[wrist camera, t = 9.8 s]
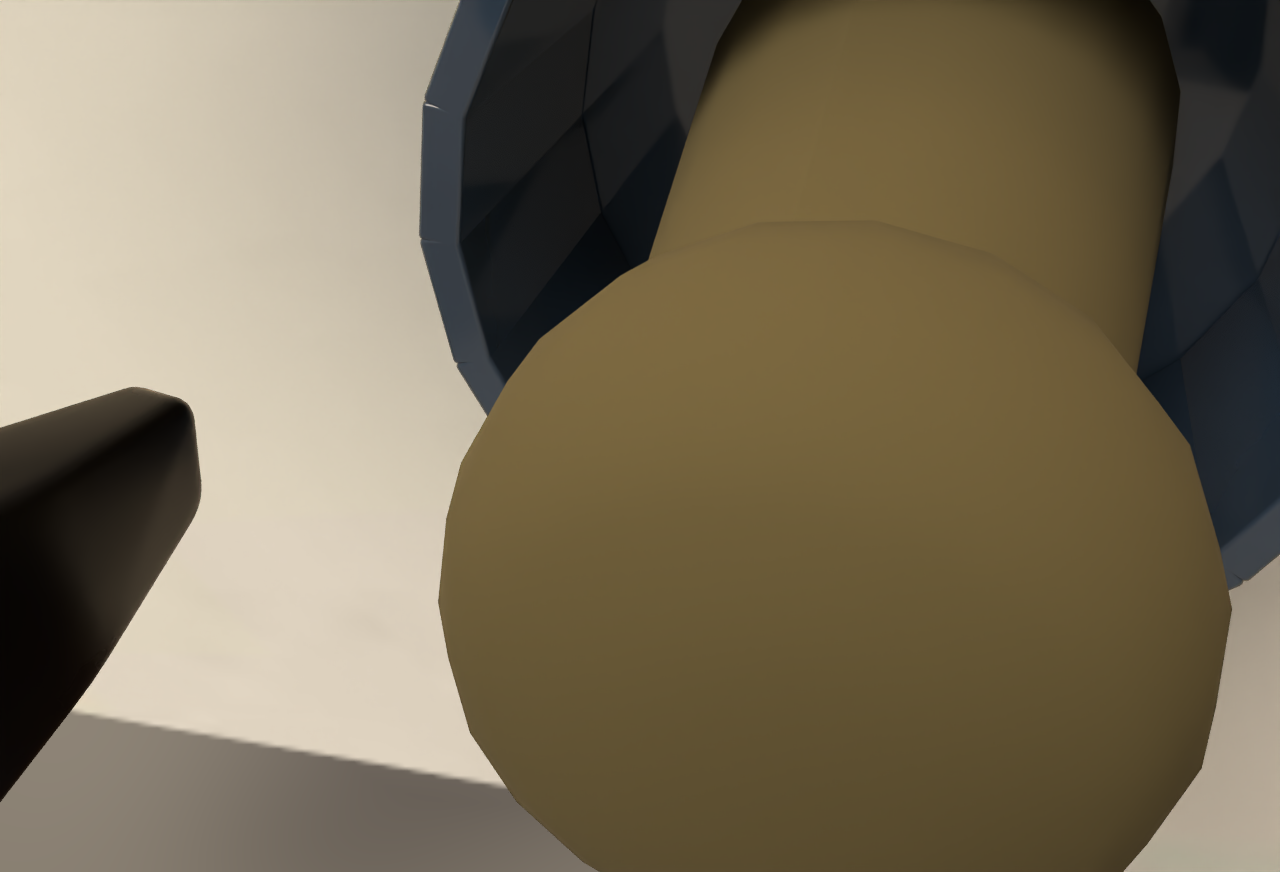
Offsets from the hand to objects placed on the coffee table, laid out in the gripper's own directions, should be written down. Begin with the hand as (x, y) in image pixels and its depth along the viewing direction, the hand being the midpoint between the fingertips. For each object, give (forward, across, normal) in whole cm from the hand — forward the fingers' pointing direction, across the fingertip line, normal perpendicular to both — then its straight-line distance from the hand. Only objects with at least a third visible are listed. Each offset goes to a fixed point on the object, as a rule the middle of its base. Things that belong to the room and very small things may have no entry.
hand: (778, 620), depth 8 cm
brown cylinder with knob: (+10, 0, 0) cm, 10 cm away
